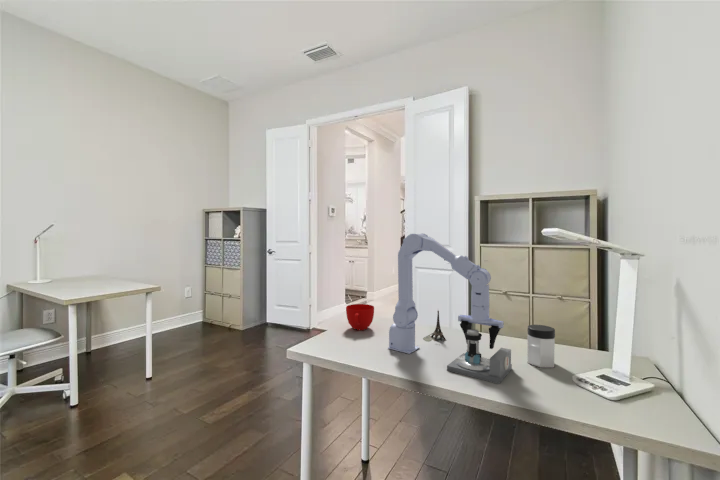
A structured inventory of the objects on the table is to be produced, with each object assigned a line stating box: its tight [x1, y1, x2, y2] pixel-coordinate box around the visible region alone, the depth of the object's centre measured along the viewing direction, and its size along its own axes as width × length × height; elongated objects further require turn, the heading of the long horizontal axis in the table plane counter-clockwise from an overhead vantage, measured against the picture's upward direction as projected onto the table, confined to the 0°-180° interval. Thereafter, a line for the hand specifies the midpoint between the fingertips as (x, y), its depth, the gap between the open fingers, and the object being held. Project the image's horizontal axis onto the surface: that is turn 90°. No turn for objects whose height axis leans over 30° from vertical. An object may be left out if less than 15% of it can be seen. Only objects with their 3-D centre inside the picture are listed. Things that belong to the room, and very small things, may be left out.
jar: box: [526, 324, 556, 369], centre depth 113 cm, size 9×8×12 cm
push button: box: [464, 328, 486, 364], centre depth 109 cm, size 7×5×10 cm
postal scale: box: [446, 347, 513, 385], centre depth 108 cm, size 16×14×6 cm
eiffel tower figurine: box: [422, 309, 447, 346], centre depth 140 cm, size 15×10×13 cm
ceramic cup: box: [345, 303, 375, 331], centre depth 153 cm, size 13×17×10 cm
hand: (479, 345), depth 113 cm, fingers open, 7 cm apart
